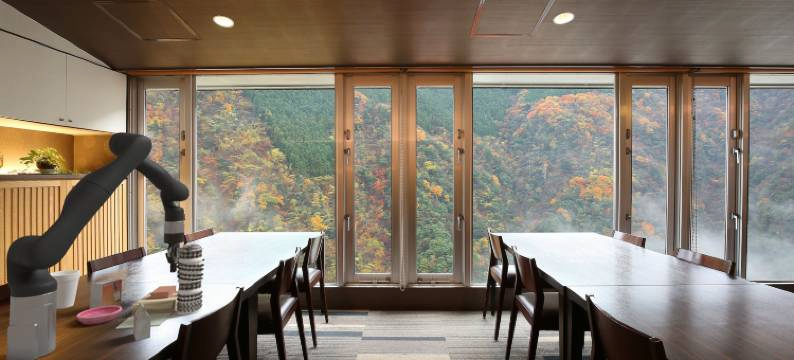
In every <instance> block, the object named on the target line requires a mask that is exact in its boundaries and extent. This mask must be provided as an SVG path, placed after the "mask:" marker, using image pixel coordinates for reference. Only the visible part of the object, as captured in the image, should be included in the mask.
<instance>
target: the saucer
mask: <svg viewBox="0 0 794 360" xmlns="http://www.w3.org/2000/svg"><path fill="white" fill-rule="evenodd" d="M122 311H123V307H122V306H103V307H97V308H92V309H90V308H89V309H85V310H84V311H81V312H78V313H77V314H76V317H75V318H76V320H78V322H80V323H81V324H82V325H88V326H89V325H98V324H103V323H107V322H110V321H112V320H115V319H116V318H117V317H118V316H119V315H120V314H121V312H122Z"/></svg>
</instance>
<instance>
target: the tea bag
mask: <svg viewBox="0 0 794 360" xmlns="http://www.w3.org/2000/svg"><path fill="white" fill-rule="evenodd" d="M151 327H152V326H151V319H150V317H149V315H148V313H147V312H146V310H145V307H144V306H143V304H142V302H140V304H139V306H138V309H137V310H136V312H135V314H134V317H133V328H132V336H133V338H134V340H135V342H137V341H141V340H142V341H143V340H146V339H150V338H151Z"/></svg>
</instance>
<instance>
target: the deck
mask: <svg viewBox="0 0 794 360" xmlns="http://www.w3.org/2000/svg"><path fill="white" fill-rule="evenodd" d="M151 292H152V291H150V292H149V293H148V294H146V295H144V296H143V297H142V298H140V299H139V300H138V301H136V302H135V303H134V304H132V307H131V308H132V309H131V311H132V312H131V316H132V315H134V314H135V312H136V310H137V309H138V306H139V304H140V302H142V304H143V306H144V307H145V310H146V312H147V313H148V314H159V313H172V314H173V313H174V312H175V311H177V302H178V300H177V298H178V296H177V294H178V290H176V292H175V293H174V294H172V295H171V296H170V297H169V298H160V299H151Z"/></svg>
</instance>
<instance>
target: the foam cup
mask: <svg viewBox="0 0 794 360" xmlns="http://www.w3.org/2000/svg"><path fill="white" fill-rule="evenodd" d="M49 273H50V274H51V276H52V277H53V278H55V279H56V280H57V306H56V310H59V309H60V310H62V309H66V308H69V307H70V308H71V307H73V306H74V304H75V300H76V294H77V290H78V286H79V280H80V277H81V270H79V269H70V270H69V269H68V270H60V271H59V270H58V271H53V272H49Z"/></svg>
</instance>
